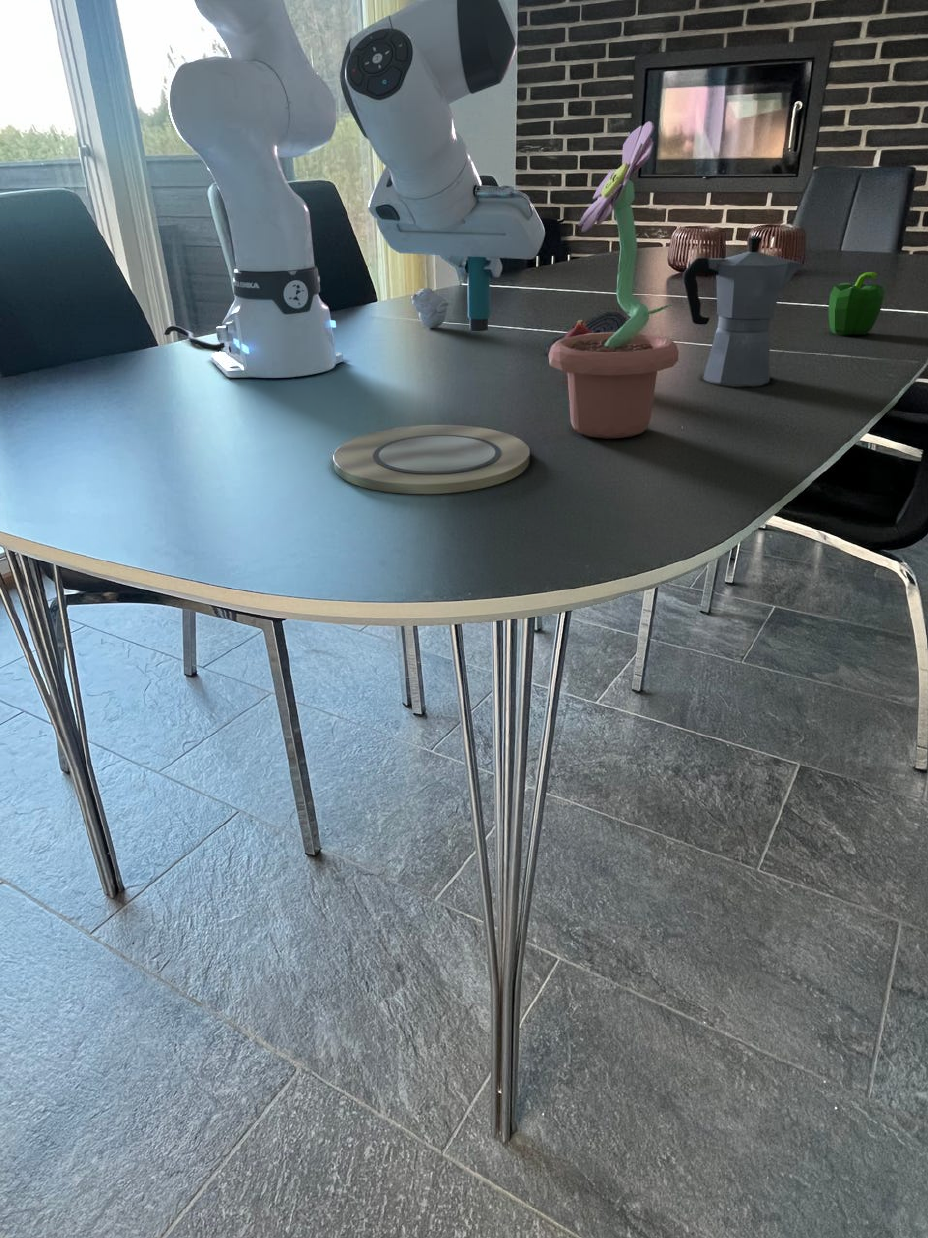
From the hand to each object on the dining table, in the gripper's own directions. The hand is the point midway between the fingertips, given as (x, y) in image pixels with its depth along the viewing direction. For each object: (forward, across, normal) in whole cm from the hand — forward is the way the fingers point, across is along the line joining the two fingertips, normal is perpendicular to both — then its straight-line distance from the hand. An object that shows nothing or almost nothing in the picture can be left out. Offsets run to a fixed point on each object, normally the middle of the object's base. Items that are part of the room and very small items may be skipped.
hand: (480, 271), depth 105 cm
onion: (+18, -10, +3) cm, 21 cm away
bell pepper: (+54, -38, -34) cm, 75 cm away
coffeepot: (+24, -28, -3) cm, 37 cm away
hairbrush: (+37, 0, -16) cm, 40 cm away
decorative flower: (+3, -22, +18) cm, 29 cm away
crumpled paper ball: (+39, +32, -17) cm, 53 cm away
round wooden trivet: (-10, -10, +31) cm, 34 cm away
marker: (+4, 0, +5) cm, 7 cm away
